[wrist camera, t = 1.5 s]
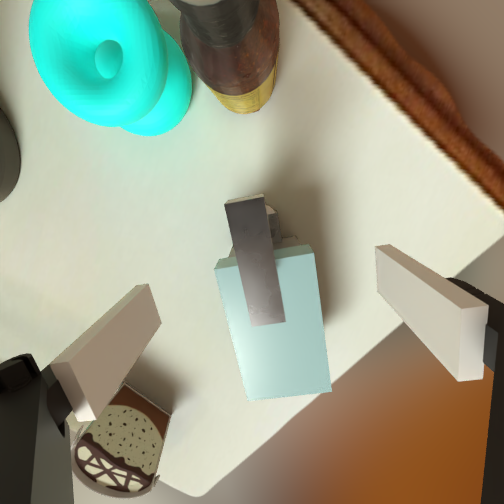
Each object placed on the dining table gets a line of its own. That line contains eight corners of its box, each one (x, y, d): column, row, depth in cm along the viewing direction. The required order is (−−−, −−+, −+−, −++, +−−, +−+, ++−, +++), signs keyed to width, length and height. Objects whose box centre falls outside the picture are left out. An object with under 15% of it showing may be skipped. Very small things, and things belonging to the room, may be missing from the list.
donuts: (38, 124, 20) (-2, -45, 17) (110, 138, 30) (93, 30, 26) (167, 122, 20) (149, -52, 17) (198, 136, 29) (191, 27, 26)
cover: (219, 259, 28) (214, 269, 25) (308, 243, 27) (314, 252, 24) (249, 380, 33) (247, 401, 30) (325, 371, 32) (331, 391, 29)
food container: (94, 398, 42) (45, 466, 32) (116, 376, 40) (70, 441, 31) (155, 439, 44) (126, 514, 35) (178, 420, 43) (154, 493, 33)
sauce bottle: (228, 37, 26) (136, -298, 7) (284, 65, 27) (336, -179, 8) (205, 105, 28) (88, -19, 9) (259, 130, 29) (250, 60, 10)
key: (241, 187, 29) (224, 204, 16) (263, 183, 28) (263, 196, 16) (256, 263, 31) (251, 326, 19) (277, 260, 31) (286, 322, 19)
